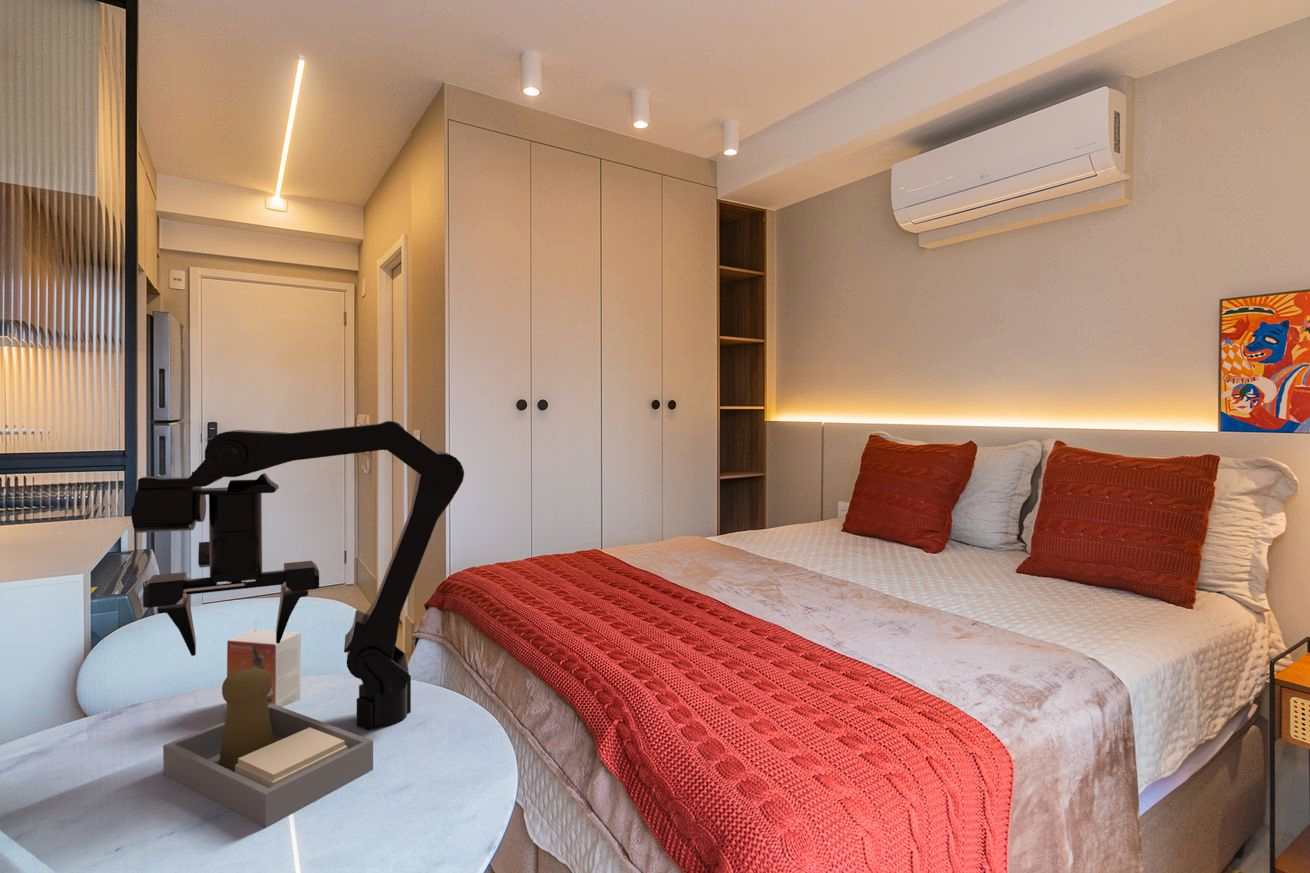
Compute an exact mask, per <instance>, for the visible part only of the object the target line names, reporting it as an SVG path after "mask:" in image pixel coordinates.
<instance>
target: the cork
mask: <svg viewBox="0 0 1310 873" xmlns="http://www.w3.org/2000/svg"><path fill="white" fill-rule="evenodd" d="M271 686H272V679H271V676H270V674H269V672H268V671H266V670H264V669H260V668H249V669H243V670H240V671H237V672H234V673H232V674H231V675H229V676H228V677H227V676H226V678H225V679H224V681H223V683H222V686H221V693H222V694H221V695H222V698H223V700H224V701H225V702H226V712H225V719H224V722H225V725H224V732H223V739H222V746H221V753H220V760H219V765H220V766H222V767H224V768H227V769H229V770H231V771H233V772H235V765H236V764H238V758H240V757H243V756H245V755H247V754H249V753H252V752H254V751H256V750H259V749H261V748H263V747H266V746H268V745H270V744H272V743H274V739H273V733H272V726H271V720H270V714H269V708H268V702H267V694H268V693H269V692H270V690H271Z"/></svg>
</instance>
